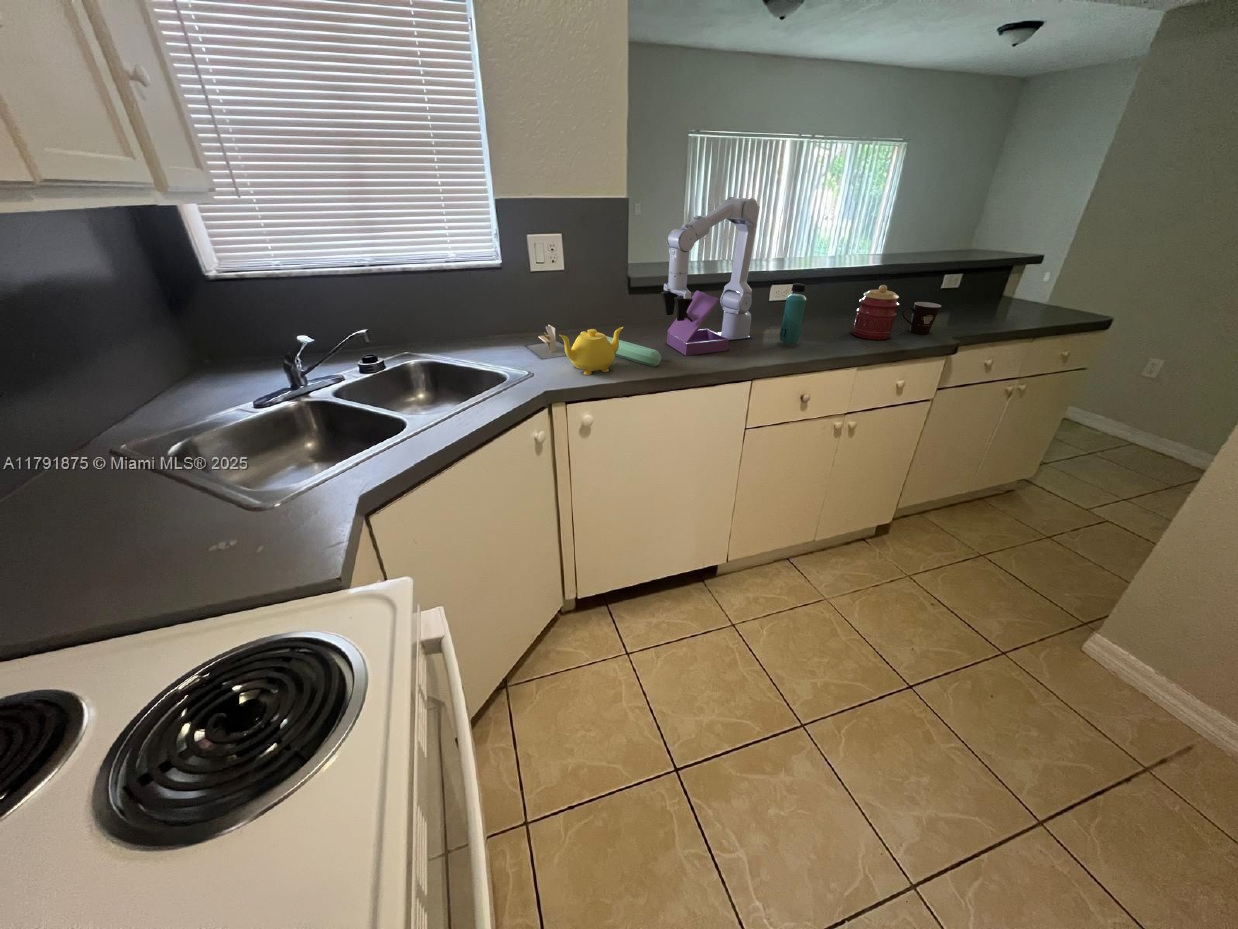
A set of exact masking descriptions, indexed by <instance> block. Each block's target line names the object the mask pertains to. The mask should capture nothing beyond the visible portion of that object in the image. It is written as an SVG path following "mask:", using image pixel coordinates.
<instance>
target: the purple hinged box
mask: <svg viewBox="0 0 1238 929" xmlns="http://www.w3.org/2000/svg"><path fill="white" fill-rule="evenodd" d="M691 298H693V301H692V302H691V304H690V306H689V307H688V310H687V312H686V315H685V318H684V321H677V317H675V319H674V321H673V322H672V323H671V325H670V326H669V328H668V329H667V333H671V334H673V335H674V336H676V337H678V338H679V339H681V340H683V341H684V342H686V343H688V342H689V340H690V339H691V338H692V336H693V335H694V334H695V332H696V331H697V330H699V329H700V327H701V326H702V324H703V323H704V322H705V320H706V319H707V317H708V316H709V315H710V313H711V312H712V311H713V310H714V308H715V307H716V305H717V304H718V303H719V301H720V298H718V297H715V296H713V295H710V294H707V293H705V292H703V291H700V290H696V291H695V292H694V294H692V295H691ZM675 313H676V314H677V310H676V311H675Z"/></svg>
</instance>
